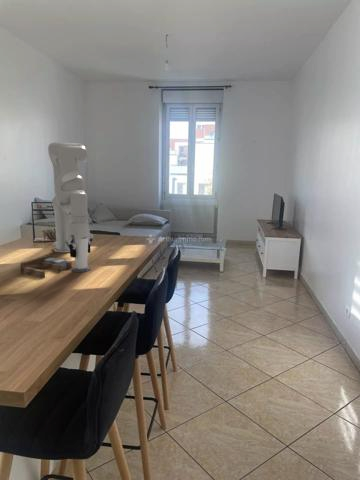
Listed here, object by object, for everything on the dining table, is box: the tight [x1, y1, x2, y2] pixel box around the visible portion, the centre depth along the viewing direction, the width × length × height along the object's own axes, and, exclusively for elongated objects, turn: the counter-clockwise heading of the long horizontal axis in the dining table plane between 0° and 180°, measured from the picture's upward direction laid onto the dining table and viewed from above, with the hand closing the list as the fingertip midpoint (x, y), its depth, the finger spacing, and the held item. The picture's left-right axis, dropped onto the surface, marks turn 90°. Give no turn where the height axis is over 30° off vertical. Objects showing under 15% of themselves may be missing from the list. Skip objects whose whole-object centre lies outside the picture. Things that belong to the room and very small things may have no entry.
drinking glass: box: [73, 237, 89, 270], centre depth 167 cm, size 7×7×15 cm
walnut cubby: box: [20, 254, 73, 279], centre depth 164 cm, size 13×18×5 cm
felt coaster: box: [70, 265, 92, 273], centre depth 168 cm, size 9×9×1 cm
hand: (80, 254), depth 167 cm, fingers open, 9 cm apart
